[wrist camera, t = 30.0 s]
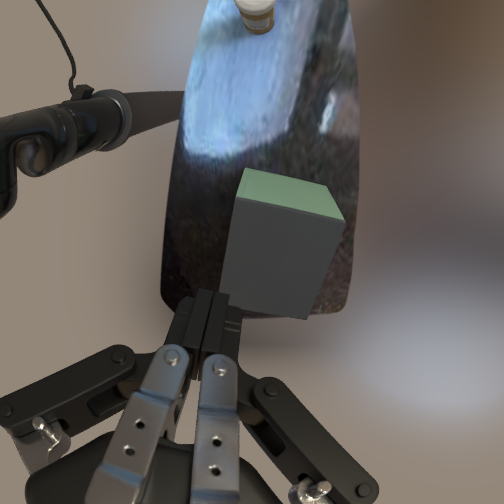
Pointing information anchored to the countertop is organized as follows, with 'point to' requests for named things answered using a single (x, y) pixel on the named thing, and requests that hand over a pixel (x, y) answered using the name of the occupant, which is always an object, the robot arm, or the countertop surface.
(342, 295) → the countertop surface
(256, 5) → the sprinkles bottle
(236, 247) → the pod lid
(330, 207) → the mint green storage bin
